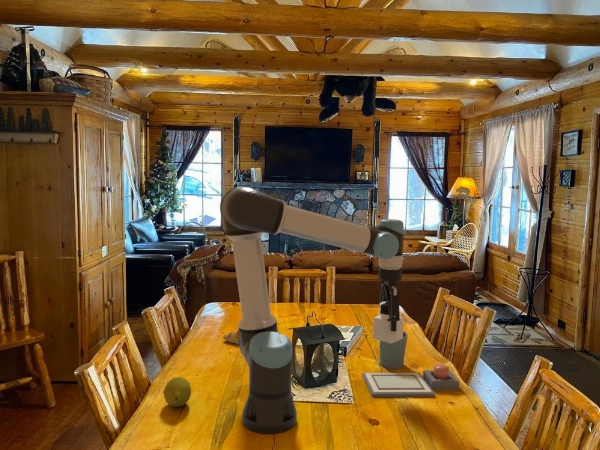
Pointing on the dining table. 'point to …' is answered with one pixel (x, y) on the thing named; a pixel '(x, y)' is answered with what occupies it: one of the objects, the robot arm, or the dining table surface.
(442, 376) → the button
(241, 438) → the dining table surface
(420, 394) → the picture board
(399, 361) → the grey cylindrical container
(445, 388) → the button housing
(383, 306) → the medicine bottle
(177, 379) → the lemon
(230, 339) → the croissant
